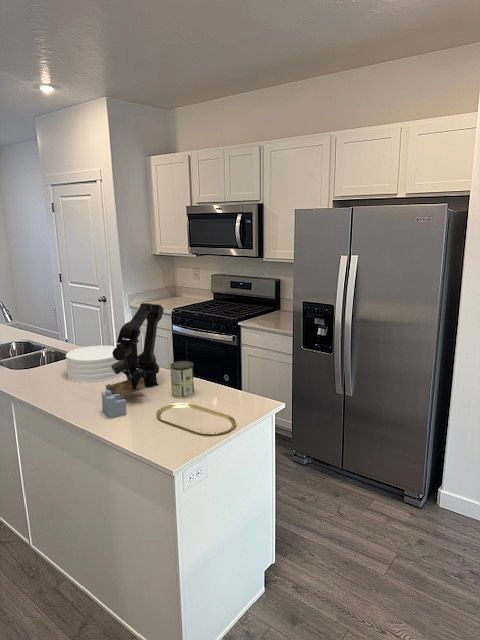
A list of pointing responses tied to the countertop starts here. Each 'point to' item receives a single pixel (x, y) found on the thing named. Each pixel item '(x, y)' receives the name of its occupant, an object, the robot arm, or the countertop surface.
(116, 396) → the stepped blue block
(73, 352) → the plate stack
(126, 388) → the brown wooden bar
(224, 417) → the serving platter
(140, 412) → the countertop surface
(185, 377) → the coffee can
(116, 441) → the countertop surface
